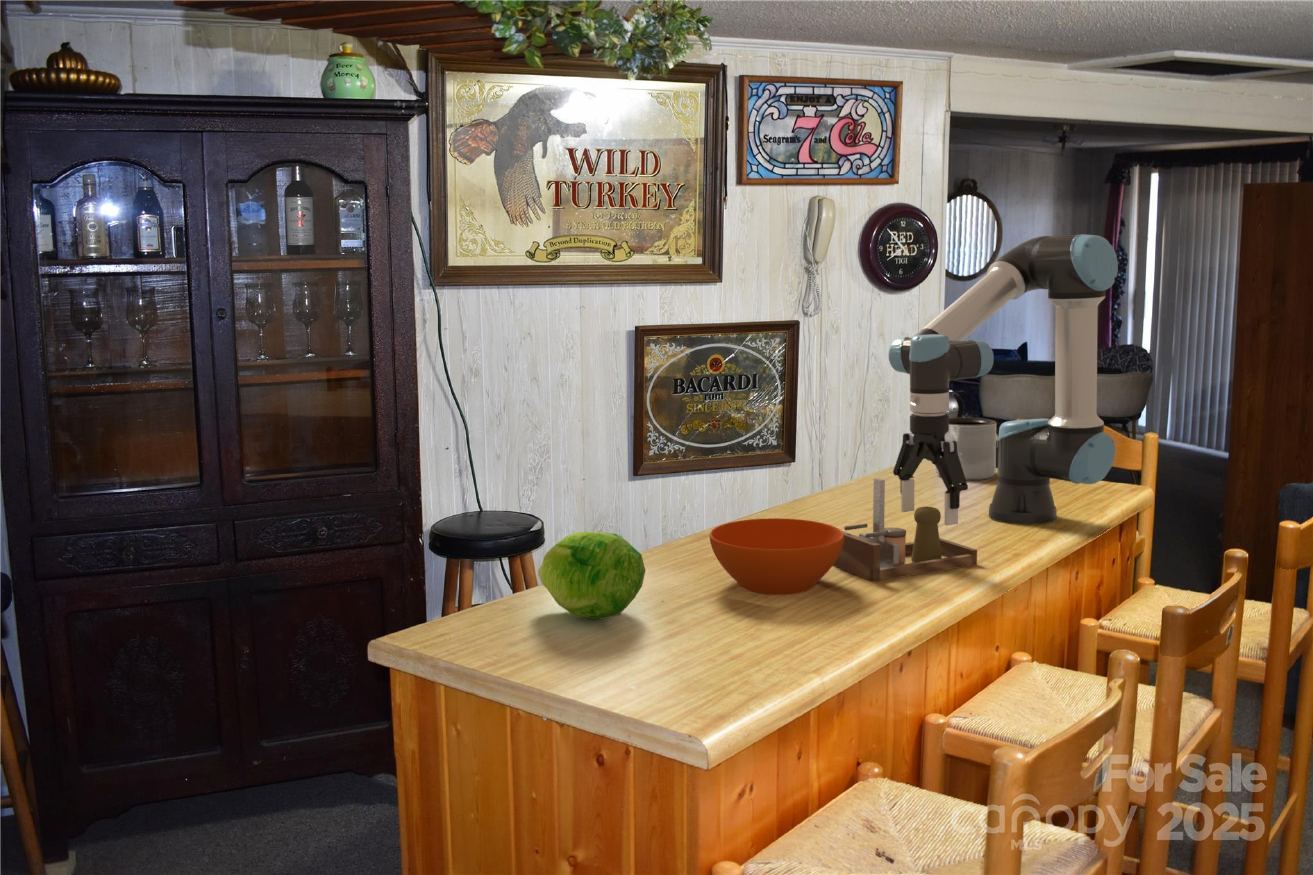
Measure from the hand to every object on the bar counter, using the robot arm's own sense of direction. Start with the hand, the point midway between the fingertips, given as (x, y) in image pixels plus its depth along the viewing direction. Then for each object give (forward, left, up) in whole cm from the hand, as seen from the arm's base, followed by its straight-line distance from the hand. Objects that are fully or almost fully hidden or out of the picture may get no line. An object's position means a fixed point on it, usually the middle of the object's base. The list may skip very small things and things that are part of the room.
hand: (929, 517), depth 231 cm
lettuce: (+74, +1, -9) cm, 75 cm away
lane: (+6, 0, -9) cm, 11 cm away
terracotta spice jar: (+9, 0, -9) cm, 13 cm away
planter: (-66, -67, -9) cm, 95 cm away
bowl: (+36, 0, -9) cm, 37 cm away
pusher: (+12, 0, -8) cm, 15 cm away
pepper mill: (0, 0, -9) cm, 9 cm away
